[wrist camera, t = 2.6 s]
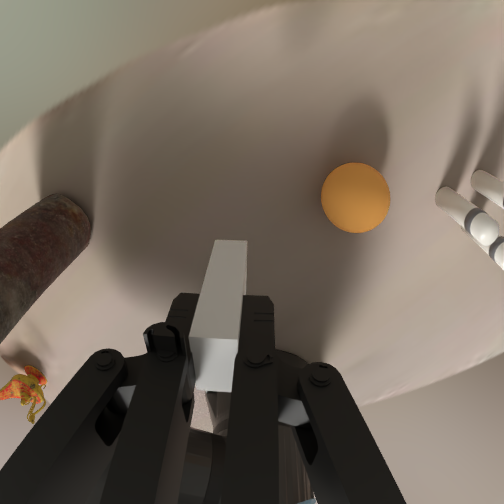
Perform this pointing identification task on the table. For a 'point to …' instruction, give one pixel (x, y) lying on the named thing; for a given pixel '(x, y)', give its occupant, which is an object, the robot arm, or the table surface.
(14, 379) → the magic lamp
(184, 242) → the table surface
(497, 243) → the pin
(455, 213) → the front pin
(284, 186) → the table surface
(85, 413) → the robot arm
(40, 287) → the rusty brown cylinder
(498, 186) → the pin
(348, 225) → the ball
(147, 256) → the table surface
